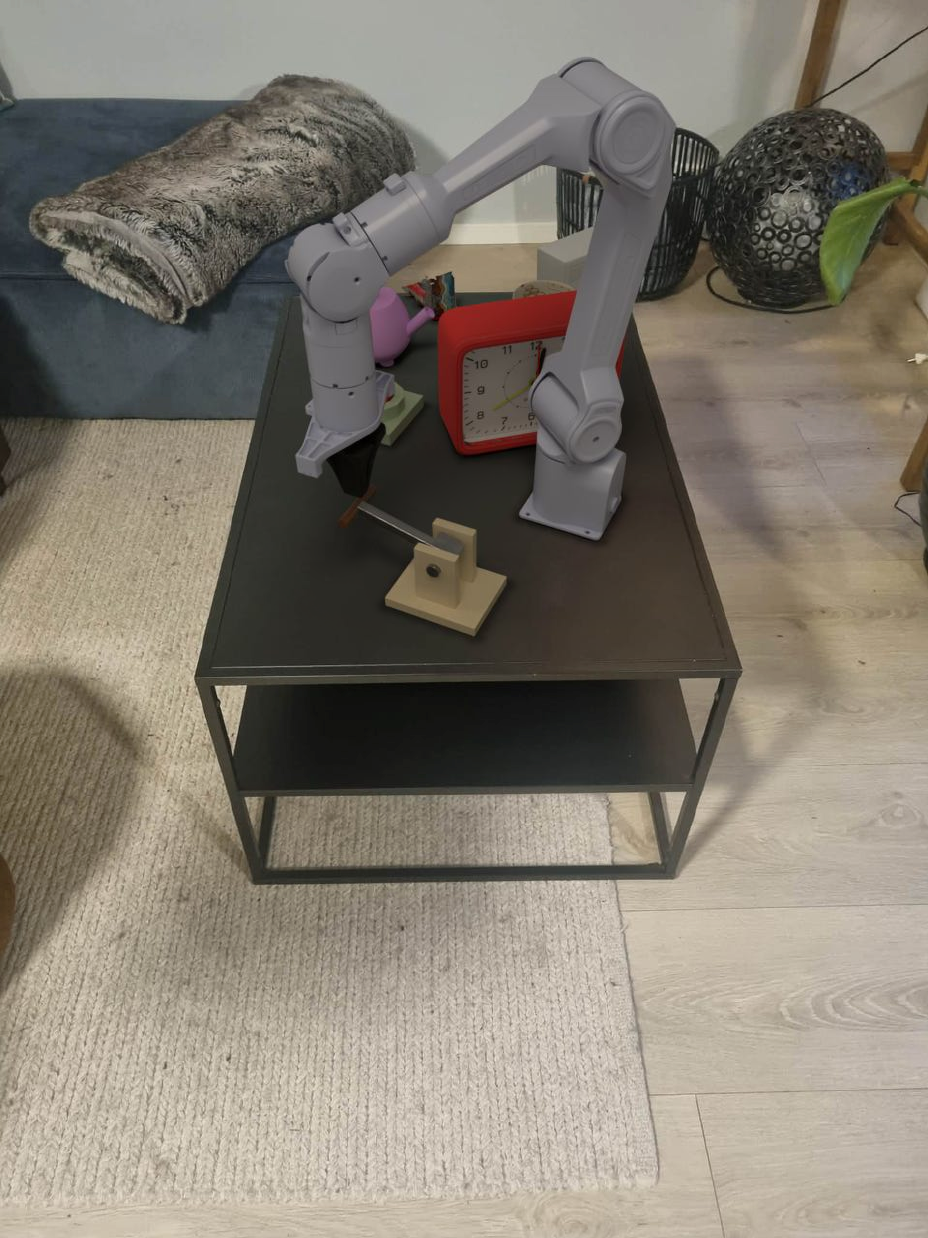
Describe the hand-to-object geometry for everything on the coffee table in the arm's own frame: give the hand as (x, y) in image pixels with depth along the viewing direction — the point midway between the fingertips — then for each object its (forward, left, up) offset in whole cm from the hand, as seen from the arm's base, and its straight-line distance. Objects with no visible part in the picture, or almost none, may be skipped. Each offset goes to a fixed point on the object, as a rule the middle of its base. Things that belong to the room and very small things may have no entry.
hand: (355, 491), depth 91 cm
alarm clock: (-6, -30, -10) cm, 32 cm away
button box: (+11, -24, -10) cm, 28 cm away
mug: (-4, -42, -10) cm, 43 cm away
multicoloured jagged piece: (+20, -50, -7) cm, 55 cm away
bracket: (-10, 0, -10) cm, 14 cm away
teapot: (+18, -37, -10) cm, 43 cm away
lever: (-5, 0, -4) cm, 7 cm away
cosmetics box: (-2, -58, -10) cm, 59 cm away
